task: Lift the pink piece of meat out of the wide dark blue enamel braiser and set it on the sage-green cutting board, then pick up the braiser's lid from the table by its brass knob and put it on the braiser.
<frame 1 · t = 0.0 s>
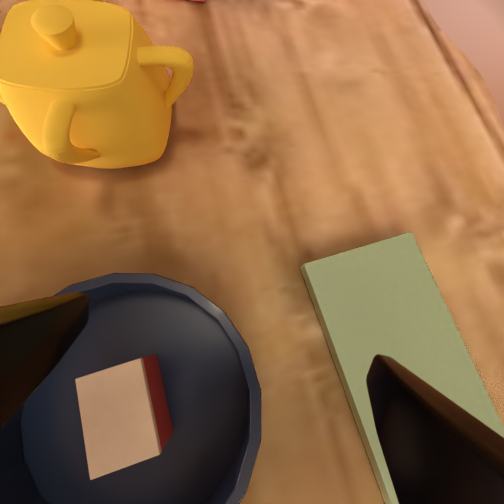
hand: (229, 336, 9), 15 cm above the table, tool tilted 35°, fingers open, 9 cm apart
board: (394, 354, 24), on the table
pot: (140, 399, 22), on the table
teapot: (110, 130, 28), on the table
meat: (138, 400, 21), resting on pot
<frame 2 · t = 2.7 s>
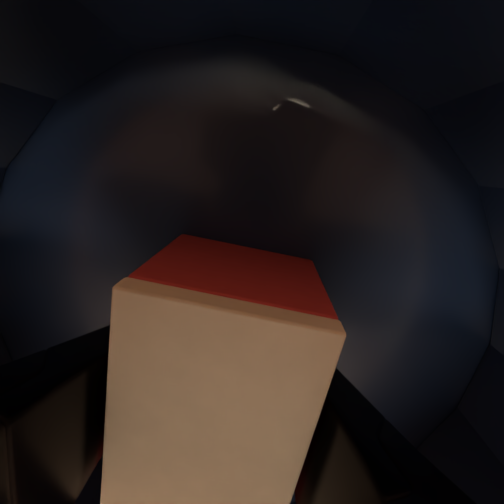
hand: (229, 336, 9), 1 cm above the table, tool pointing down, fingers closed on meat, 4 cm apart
pot: (233, 319, 10), on the table
meat: (231, 327, 9), point 1 cm above the table, touching gripper, pot
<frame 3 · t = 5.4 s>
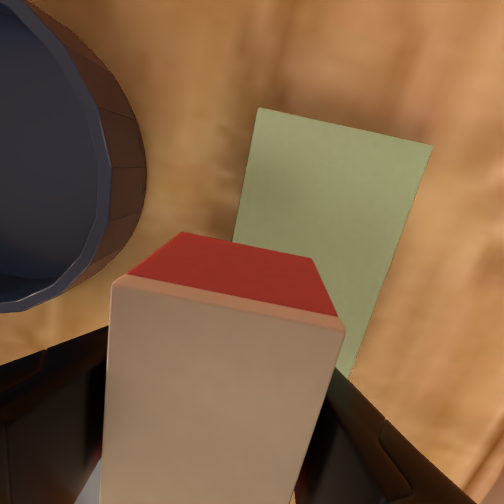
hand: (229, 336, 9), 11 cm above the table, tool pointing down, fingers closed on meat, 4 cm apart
board: (302, 267, 20), on the table
pot: (15, 161, 19), on the table
lid: (153, 471, 25), point 1 cm above the table
meat: (230, 325, 9), point 11 cm above the table, touching gripper
when the fingers open (2 cm above the table, at t = 8.2 s): meat stays where it is, resting on board.
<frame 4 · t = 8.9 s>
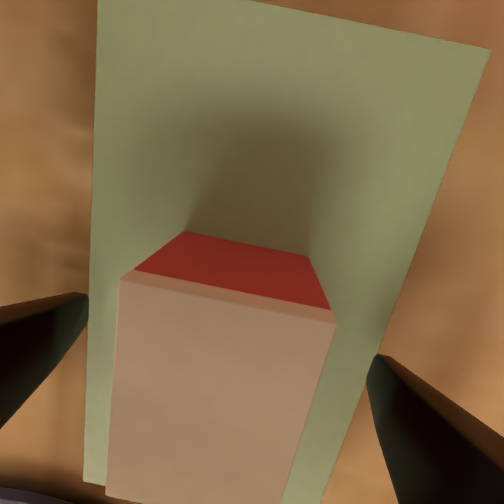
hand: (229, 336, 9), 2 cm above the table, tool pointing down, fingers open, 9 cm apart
board: (237, 302, 11), on the table
meat: (230, 321, 10), point 1 cm above the table, touching board
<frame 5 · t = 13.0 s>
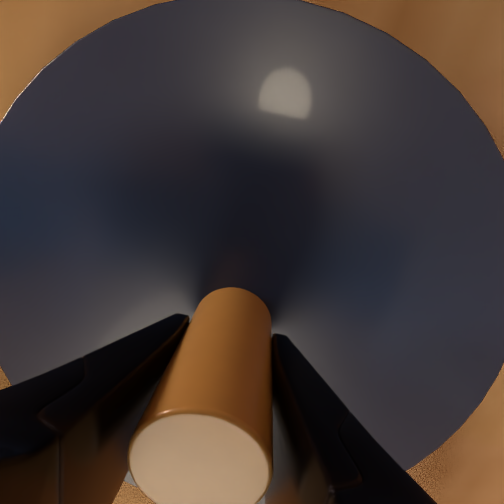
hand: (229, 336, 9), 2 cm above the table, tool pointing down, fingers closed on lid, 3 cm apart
lid: (234, 314, 10), point 1 cm above the table, touching gripper
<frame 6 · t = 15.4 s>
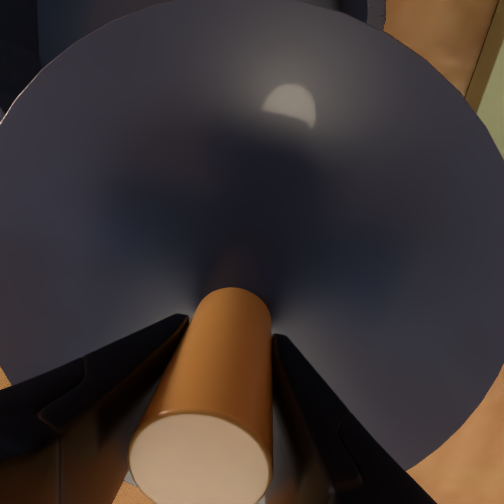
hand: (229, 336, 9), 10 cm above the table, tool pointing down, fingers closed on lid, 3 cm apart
pot: (188, 58, 16), on the table
lid: (234, 314, 10), point 9 cm above the table, touching gripper
when the fingers open (6 cm above the table, at t = 17.8 s): lid stays where it is, resting on pot.
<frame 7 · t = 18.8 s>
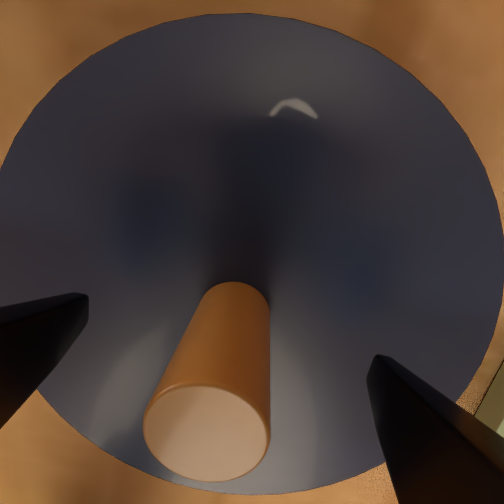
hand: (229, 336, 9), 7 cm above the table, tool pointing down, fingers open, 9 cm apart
lid: (235, 307, 11), point 4 cm above the table, touching pot
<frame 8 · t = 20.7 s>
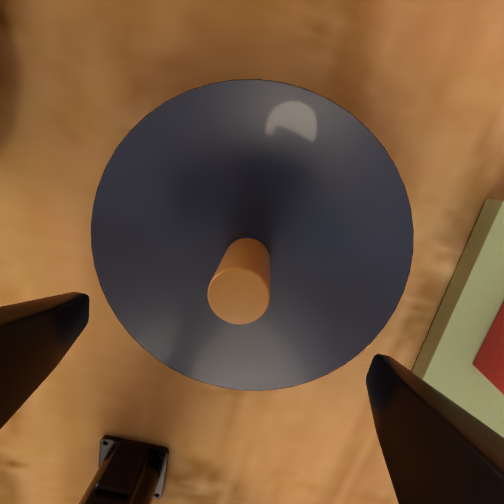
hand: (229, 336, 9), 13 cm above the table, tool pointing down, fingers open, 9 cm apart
board: (499, 327, 22), on the table
lid: (247, 256, 17), point 4 cm above the table, touching pot
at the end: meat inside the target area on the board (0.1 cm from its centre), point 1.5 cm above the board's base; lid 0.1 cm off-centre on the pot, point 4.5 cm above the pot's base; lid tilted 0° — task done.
